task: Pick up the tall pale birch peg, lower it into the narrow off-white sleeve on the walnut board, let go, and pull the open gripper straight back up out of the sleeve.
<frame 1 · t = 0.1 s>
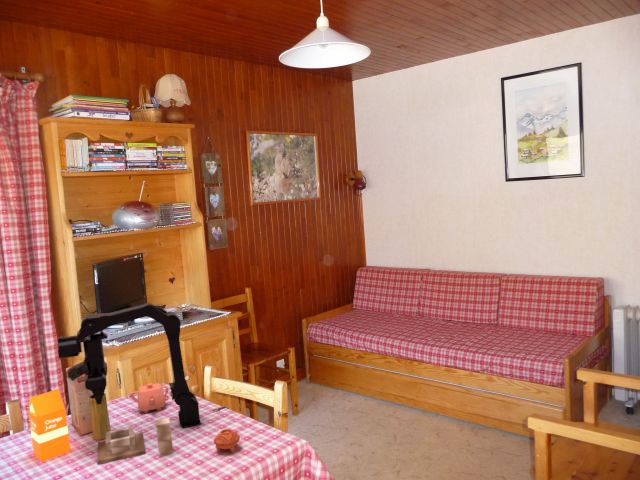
hand: (99, 399, 181), 15 cm above the table, tool pointing down, fingers open, 9 cm apart
teapot: (151, 410, 207), on the table
peg: (165, 452, 172), on the table
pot: (227, 450, 171), on the table
vase: (102, 436, 187), on the table
orange juice: (52, 453, 177), on the table
cracker box: (84, 427, 195), on the table
well: (121, 449, 176), on the table
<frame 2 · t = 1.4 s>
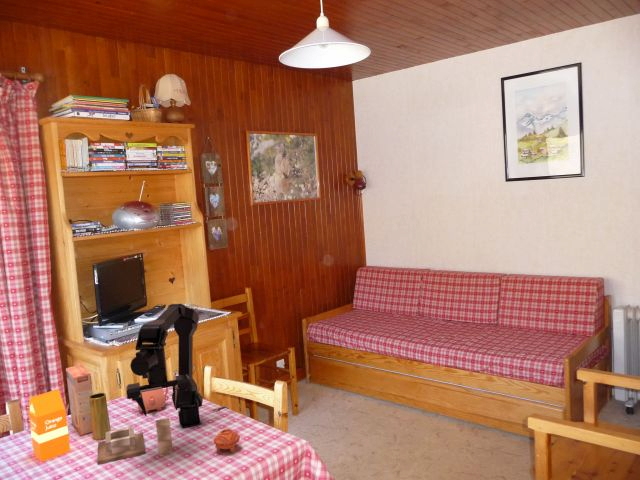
hand: (161, 412, 171), 13 cm above the table, tool pointing down, fingers open, 9 cm apart
nothing on the table moved.
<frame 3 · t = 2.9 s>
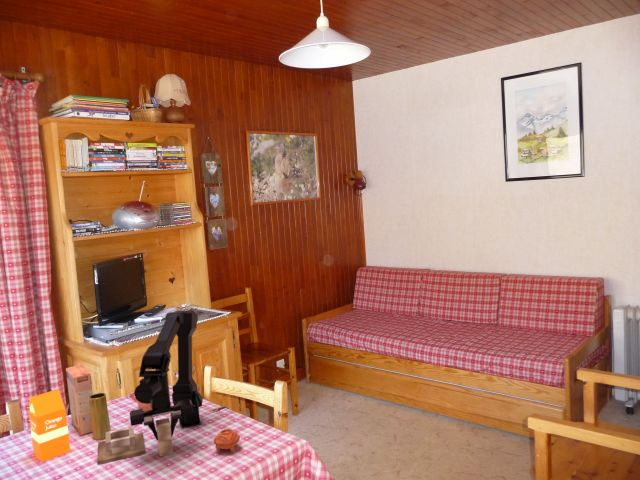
hand: (164, 438, 172), 5 cm above the table, tool pointing down, fingers closed on peg, 4 cm apart
peg: (165, 452, 172), on the table, touching gripper
everything else where it was.
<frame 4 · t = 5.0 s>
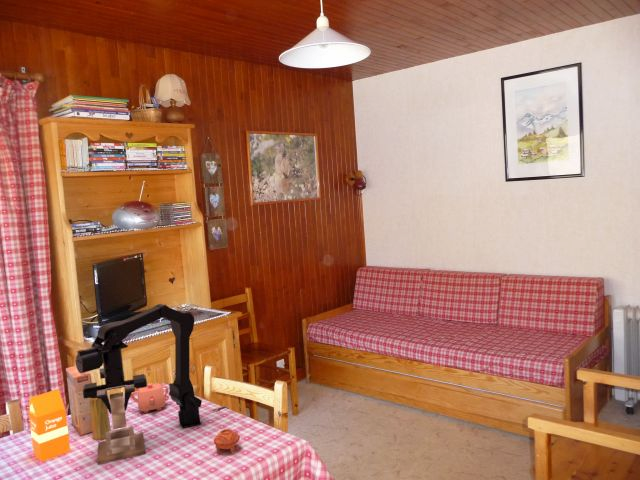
hand: (118, 411, 175), 13 cm above the table, tool pointing down, fingers closed on peg, 4 cm apart
peg: (119, 425, 175), point 8 cm above the table, touching gripper
everything else where it was.
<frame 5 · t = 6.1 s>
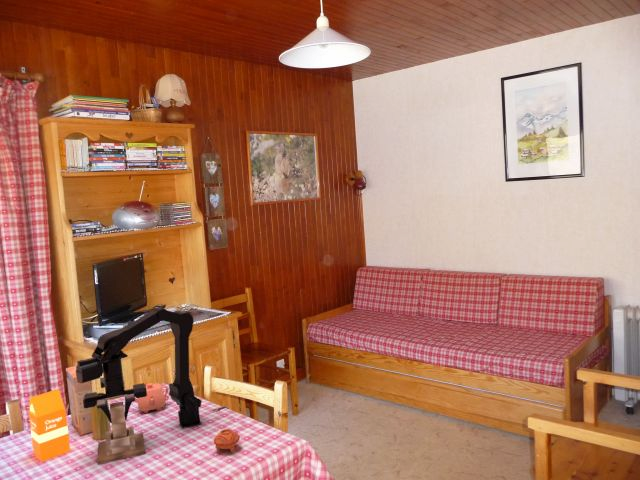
hand: (118, 421, 175), 9 cm above the table, tool pointing down, fingers closed on peg, 4 cm apart
peg: (120, 434, 176), point 5 cm above the table, touching gripper
everything else where it was.
when the fingers open (6 cm above the table, at t = 7.0 s): peg stays where it is, resting on well.
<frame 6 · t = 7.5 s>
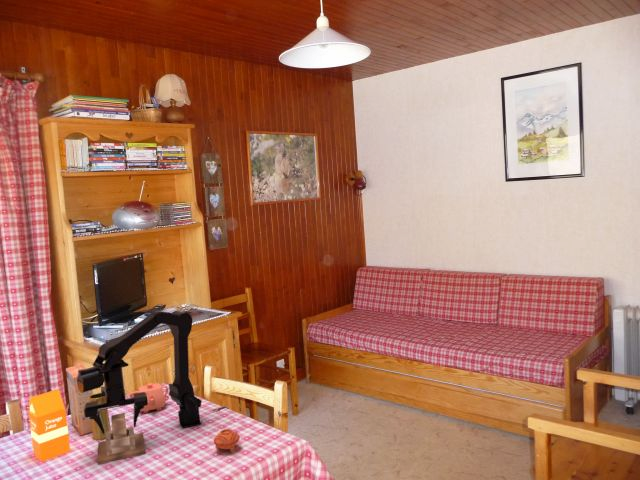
hand: (119, 429, 175), 6 cm above the table, tool pointing down, fingers open, 9 cm apart
peg: (121, 446, 176), point 1 cm above the table, touching well
everything else where it was.
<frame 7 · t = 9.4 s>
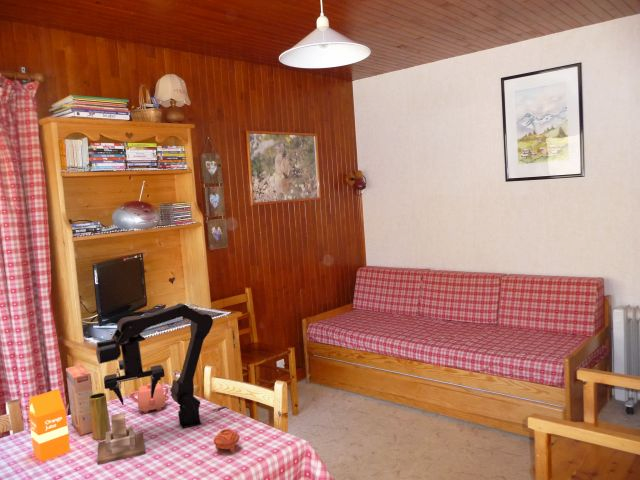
hand: (137, 401, 182), 13 cm above the table, tool pointing down, fingers open, 9 cm apart
nothing on the table moved.
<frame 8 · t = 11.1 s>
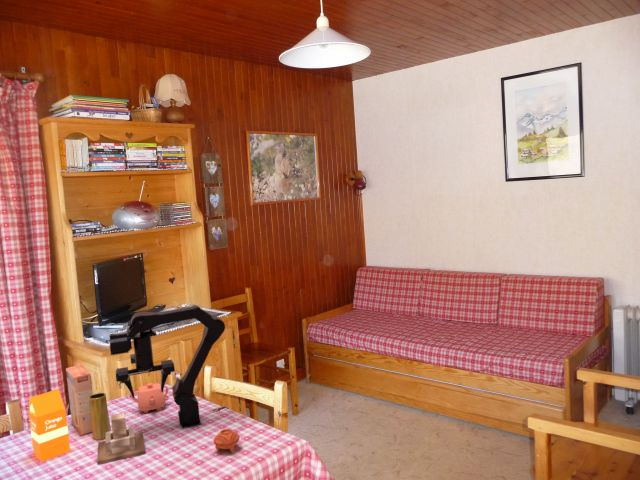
hand: (147, 394, 187), 13 cm above the table, tool pointing down, fingers open, 9 cm apart
nothing on the table moved.
at the end: peg 0.1 cm off-centre on the well, point 1.0 cm above the well's base; peg tilted 0°; the gripper is holding nothing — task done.
